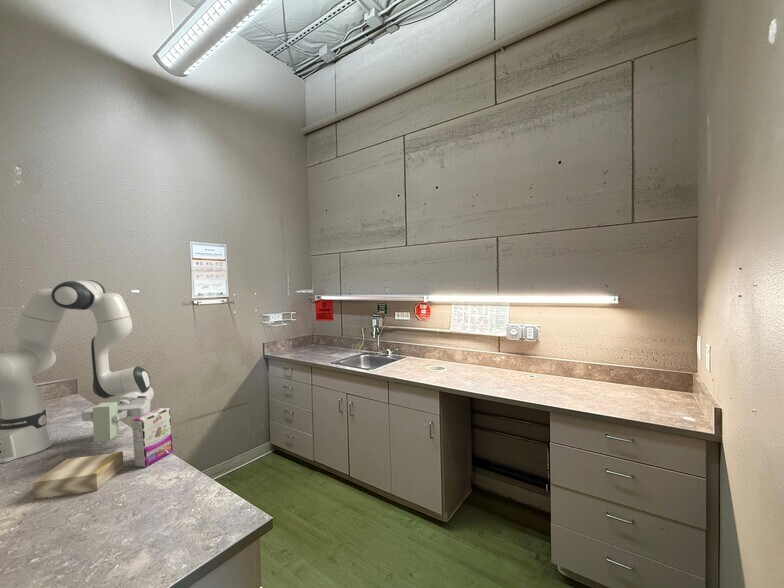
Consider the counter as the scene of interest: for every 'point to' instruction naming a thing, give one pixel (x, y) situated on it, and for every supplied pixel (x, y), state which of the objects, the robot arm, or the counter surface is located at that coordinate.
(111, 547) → the counter surface
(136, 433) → the candy bar box
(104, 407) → the pale green block
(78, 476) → the dock
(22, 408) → the robot arm
